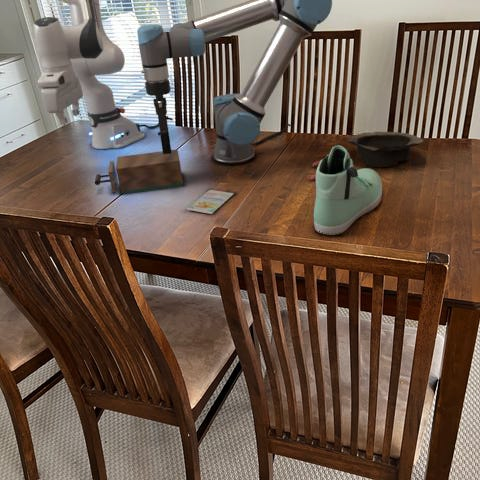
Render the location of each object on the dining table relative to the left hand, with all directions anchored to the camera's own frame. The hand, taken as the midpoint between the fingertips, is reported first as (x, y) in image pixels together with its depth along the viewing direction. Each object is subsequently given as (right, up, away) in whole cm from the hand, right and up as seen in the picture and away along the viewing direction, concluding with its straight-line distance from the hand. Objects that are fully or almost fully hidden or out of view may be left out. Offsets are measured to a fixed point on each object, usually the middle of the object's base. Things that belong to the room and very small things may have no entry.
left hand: (70, 119), depth 156 cm
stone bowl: (+105, -11, +13) cm, 107 cm away
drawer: (+19, -20, +7) cm, 29 cm away
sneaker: (+87, -30, -17) cm, 93 cm away
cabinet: (+25, -20, +8) cm, 33 cm away
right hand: (+31, -8, +2) cm, 32 cm away
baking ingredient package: (+46, -28, -7) cm, 54 cm away
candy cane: (+81, -17, +6) cm, 83 cm away
